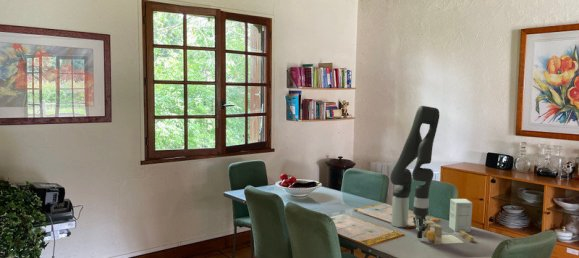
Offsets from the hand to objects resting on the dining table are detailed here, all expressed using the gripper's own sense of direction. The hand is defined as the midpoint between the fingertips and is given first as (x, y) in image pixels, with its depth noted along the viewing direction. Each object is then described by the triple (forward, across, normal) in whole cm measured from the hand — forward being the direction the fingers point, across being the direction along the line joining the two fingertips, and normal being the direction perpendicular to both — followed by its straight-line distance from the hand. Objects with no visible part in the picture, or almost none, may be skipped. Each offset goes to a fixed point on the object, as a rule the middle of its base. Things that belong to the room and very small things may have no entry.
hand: (419, 237), depth 239 cm
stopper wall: (+2, 0, -27) cm, 27 cm away
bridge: (+2, 0, -7) cm, 7 cm away
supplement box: (+2, +16, -32) cm, 36 cm away
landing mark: (+2, 0, -16) cm, 16 cm away
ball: (-1, -1, -6) cm, 7 cm away
